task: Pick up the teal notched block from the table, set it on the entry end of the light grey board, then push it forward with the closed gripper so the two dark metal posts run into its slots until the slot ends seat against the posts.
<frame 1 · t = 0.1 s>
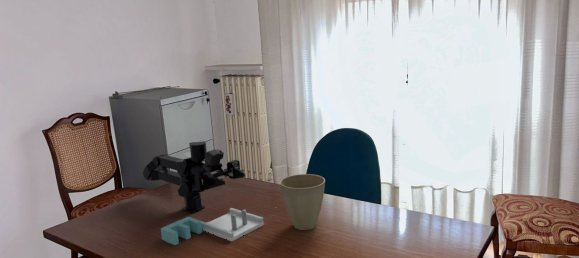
hand: (235, 179, 154), 17 cm above the table, tool horizontal, fingers open, 9 cm apart
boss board: (232, 227, 155), on the table
teal notched block: (182, 235, 151), on the table
plant pot: (304, 225, 154), on the table
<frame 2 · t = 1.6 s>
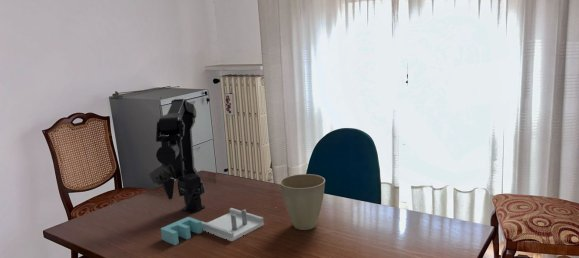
hand: (178, 201, 148), 12 cm above the table, tool pointing down, fingers open, 9 cm apart
nothing on the table moved.
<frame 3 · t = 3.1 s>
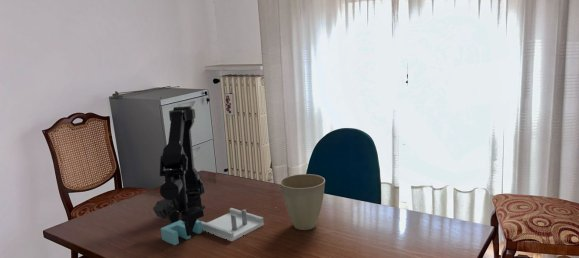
hand: (182, 233, 151), 1 cm above the table, tool pointing down, fingers closed on teal notched block, 7 cm apart
teal notched block: (182, 235, 151), on the table, touching gripper
everything else where it was.
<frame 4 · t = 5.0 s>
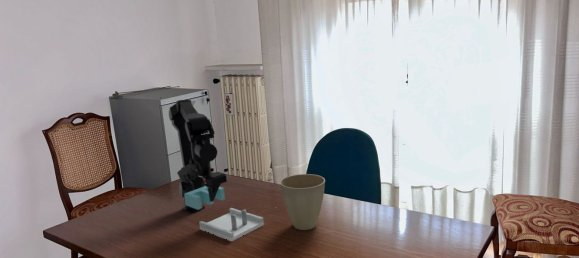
hand: (205, 199, 153), 11 cm above the table, tool pointing down, fingers closed on teal notched block, 7 cm apart
teal notched block: (205, 201, 153), point 10 cm above the table, touching gripper
everything else where it was.
when the fingers open (3 cm above the table, at t = 7.3 s): teal notched block stays where it is, resting on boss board.
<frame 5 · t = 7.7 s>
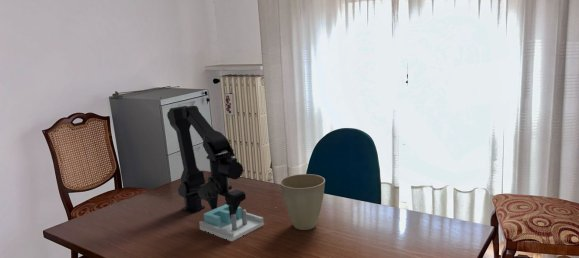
hand: (223, 215, 157), 3 cm above the table, tool pointing down, fingers open, 9 cm apart
teal notched block: (223, 221, 158), point 1 cm above the table, touching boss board
everything else where it was.
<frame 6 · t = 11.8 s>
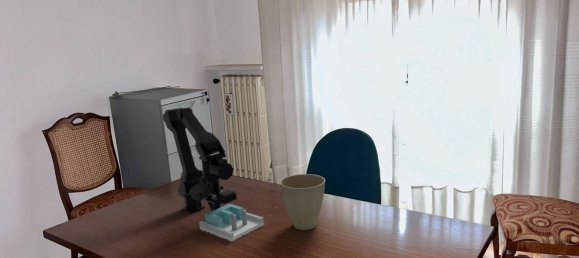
hand: (215, 215, 160), 2 cm above the table, tool pointing down, fingers closed
teal notched block: (225, 221, 157), point 1 cm above the table, touching gripper
everything else where it was.
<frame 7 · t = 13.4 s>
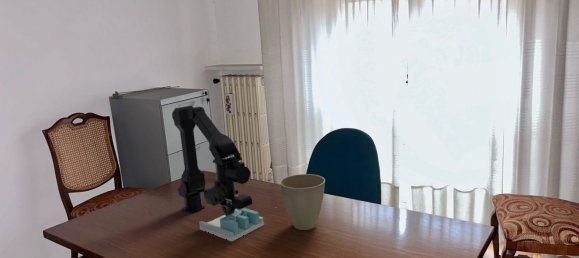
hand: (229, 220, 155), 2 cm above the table, tool pointing down, fingers closed
teal notched block: (240, 226, 152), point 1 cm above the table, touching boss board, gripper
everything else where it was.
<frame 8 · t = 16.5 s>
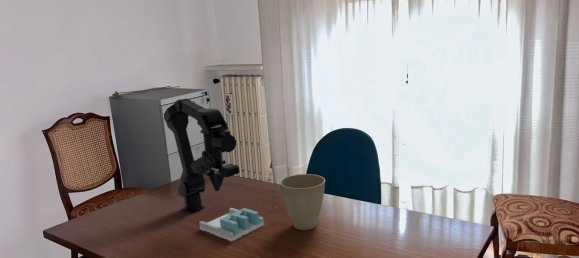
hand: (217, 190, 157), 12 cm above the table, tool pointing down, fingers closed
teal notched block: (240, 226, 152), point 1 cm above the table, touching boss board
everything else where it was.
at the end: teal notched block 0.1 cm from the target spot, point 1.2 cm above the table; teal notched block tilted 0°; the gripper is holding nothing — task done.
